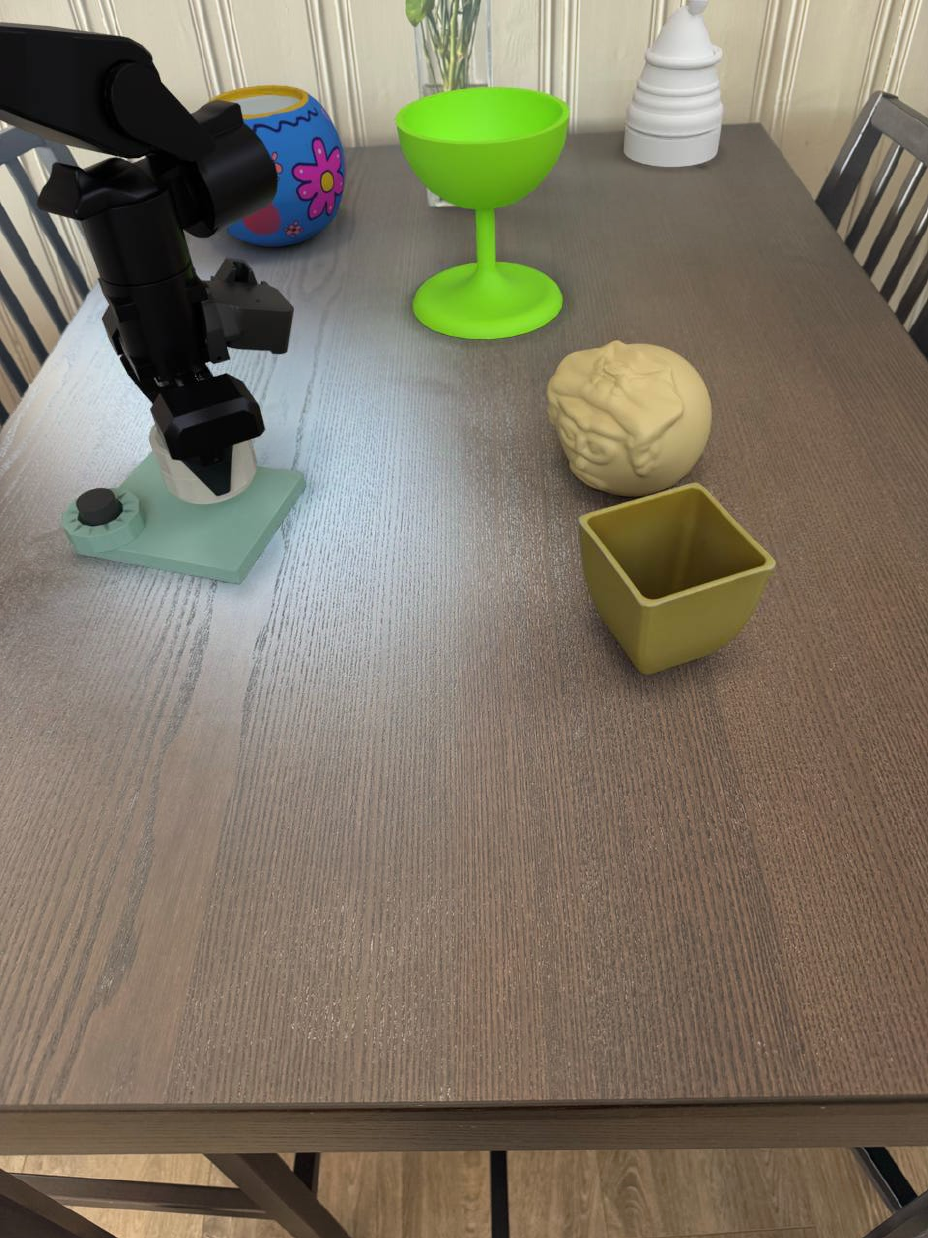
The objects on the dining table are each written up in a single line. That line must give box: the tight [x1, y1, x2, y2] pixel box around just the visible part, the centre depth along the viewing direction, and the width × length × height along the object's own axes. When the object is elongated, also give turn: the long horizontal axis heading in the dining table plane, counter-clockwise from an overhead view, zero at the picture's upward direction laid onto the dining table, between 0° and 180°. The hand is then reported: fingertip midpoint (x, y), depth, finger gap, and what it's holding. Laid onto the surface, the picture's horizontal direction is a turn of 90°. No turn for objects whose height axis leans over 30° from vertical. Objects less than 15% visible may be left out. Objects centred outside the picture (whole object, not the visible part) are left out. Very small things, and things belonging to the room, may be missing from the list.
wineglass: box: [394, 86, 571, 340], centre depth 86 cm, size 16×16×18 cm
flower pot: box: [577, 482, 777, 676], centre depth 55 cm, size 9×9×9 cm
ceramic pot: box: [205, 84, 347, 247], centre depth 101 cm, size 18×18×15 cm
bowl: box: [147, 424, 258, 504], centre depth 65 cm, size 7×7×4 cm
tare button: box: [76, 487, 121, 527], centre depth 65 cm, size 3×3×2 cm
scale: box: [60, 450, 307, 585], centre depth 68 cm, size 15×13×3 cm
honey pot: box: [623, 0, 725, 168], centre depth 114 cm, size 13×13×18 cm
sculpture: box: [546, 339, 713, 498], centre depth 67 cm, size 12×12×11 cm
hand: (208, 468), depth 66 cm, fingers closed on bowl, 7 cm apart
